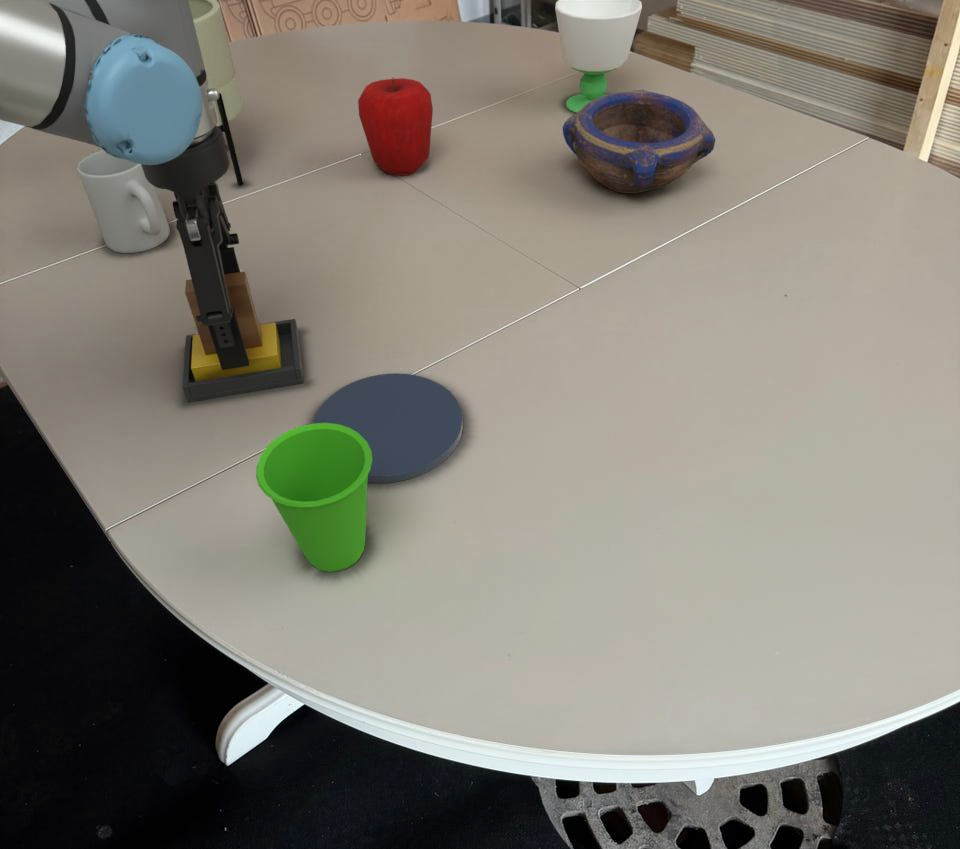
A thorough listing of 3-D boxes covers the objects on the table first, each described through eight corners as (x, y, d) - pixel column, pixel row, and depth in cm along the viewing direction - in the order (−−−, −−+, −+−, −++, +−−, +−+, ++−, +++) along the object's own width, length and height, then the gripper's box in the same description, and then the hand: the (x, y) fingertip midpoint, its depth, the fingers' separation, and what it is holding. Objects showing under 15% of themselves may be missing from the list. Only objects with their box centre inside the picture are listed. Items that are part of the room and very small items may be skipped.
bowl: (625, 225, 110) (633, 154, 103) (547, 174, 122) (548, 107, 115) (723, 187, 117) (736, 118, 110) (640, 143, 128) (646, 78, 121)
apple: (440, 152, 128) (434, 63, 119) (431, 183, 121) (423, 90, 111) (374, 152, 129) (362, 63, 120) (360, 182, 122) (347, 90, 112)
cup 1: (408, 548, 71) (395, 460, 64) (324, 611, 67) (299, 524, 59) (345, 494, 76) (326, 406, 69) (263, 550, 72) (233, 462, 64)
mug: (94, 239, 112) (63, 163, 105) (149, 215, 116) (124, 140, 109) (139, 270, 106) (111, 192, 98) (196, 243, 110) (173, 167, 103)
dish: (187, 402, 87) (182, 387, 85) (190, 350, 93) (185, 335, 92) (303, 382, 88) (300, 367, 87) (298, 333, 95) (295, 318, 93)
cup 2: (537, 99, 142) (538, 0, 131) (604, 83, 146) (610, -14, 136) (579, 127, 133) (584, 24, 122) (649, 109, 137) (660, 8, 126)
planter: (201, 206, 118) (152, 38, 102) (134, 178, 125) (79, 16, 109) (280, 166, 127) (246, 5, 111) (213, 141, 134) (172, -13, 118)
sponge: (197, 386, 88) (168, 304, 80) (198, 352, 92) (171, 272, 85) (282, 372, 89) (261, 291, 82) (279, 339, 93) (259, 259, 86)
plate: (320, 496, 76) (318, 488, 76) (308, 393, 87) (307, 386, 86) (477, 467, 78) (476, 459, 78) (447, 370, 89) (446, 363, 88)
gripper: (218, 186, 65) (275, 396, 80) (221, 79, 81) (267, 268, 96) (120, 199, 64) (196, 409, 79) (143, 88, 80) (202, 278, 95)
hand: (235, 332), depth 88 cm, fingers open, 11 cm apart
